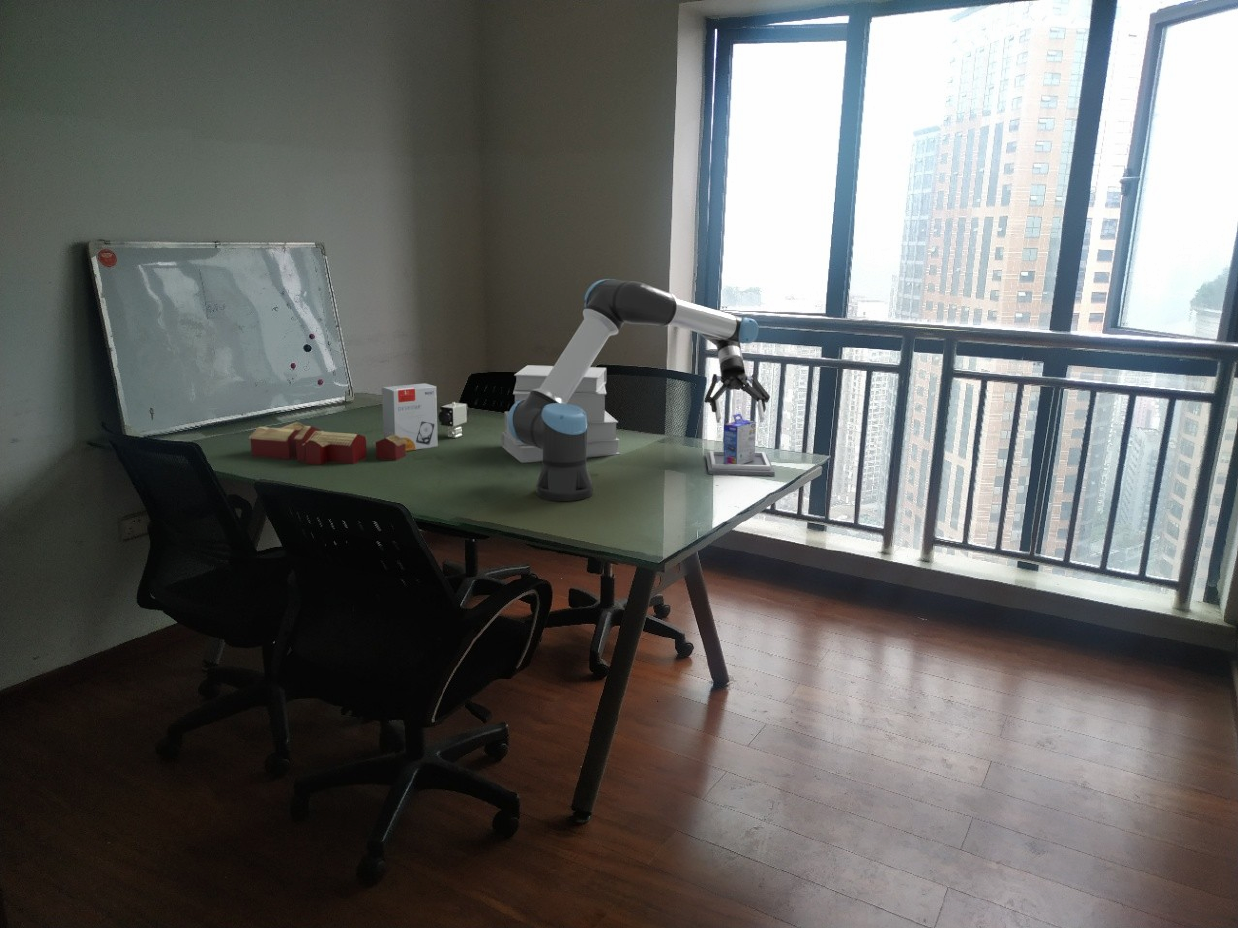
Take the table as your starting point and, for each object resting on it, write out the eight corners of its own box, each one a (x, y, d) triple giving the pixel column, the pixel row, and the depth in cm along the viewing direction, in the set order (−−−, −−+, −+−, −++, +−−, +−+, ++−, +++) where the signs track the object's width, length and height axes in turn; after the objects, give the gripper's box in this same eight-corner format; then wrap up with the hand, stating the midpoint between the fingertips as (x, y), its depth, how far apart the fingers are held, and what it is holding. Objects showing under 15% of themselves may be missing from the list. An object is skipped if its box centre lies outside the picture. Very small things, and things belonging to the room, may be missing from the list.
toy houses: (246, 459, 262) (242, 426, 259) (287, 443, 281) (285, 413, 278) (379, 471, 251) (377, 437, 248) (413, 454, 270) (412, 422, 267)
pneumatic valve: (470, 434, 297) (469, 399, 294) (450, 441, 286) (449, 405, 283) (457, 432, 299) (456, 398, 296) (436, 439, 289) (435, 404, 286)
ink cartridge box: (740, 457, 267) (743, 411, 263) (755, 460, 263) (758, 414, 259) (721, 463, 260) (723, 416, 256) (736, 466, 256) (739, 418, 252)
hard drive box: (394, 453, 269) (391, 390, 264) (383, 449, 275) (380, 387, 270) (439, 446, 279) (436, 385, 274) (427, 442, 285) (425, 382, 280)
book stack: (494, 444, 284) (492, 366, 277) (594, 436, 297) (594, 362, 290) (520, 467, 257) (519, 381, 250) (628, 457, 270) (630, 375, 263)
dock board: (708, 474, 252) (709, 466, 251) (706, 456, 272) (706, 448, 272) (774, 476, 251) (774, 468, 250) (766, 458, 271) (767, 450, 271)
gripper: (767, 370, 278) (777, 426, 267) (690, 370, 275) (698, 427, 265) (772, 356, 271) (783, 413, 261) (694, 356, 269) (702, 413, 258)
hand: (740, 420), depth 263 cm, fingers open, 13 cm apart
